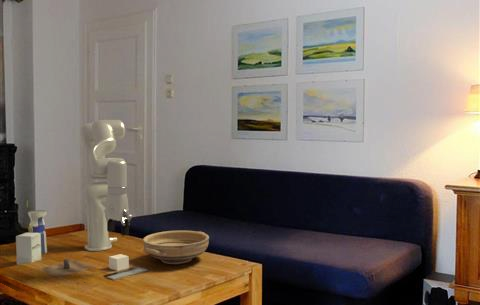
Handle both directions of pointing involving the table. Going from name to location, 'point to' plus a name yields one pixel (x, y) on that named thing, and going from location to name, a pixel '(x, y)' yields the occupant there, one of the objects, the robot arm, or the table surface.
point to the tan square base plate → (66, 268)
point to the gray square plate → (125, 273)
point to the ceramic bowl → (176, 245)
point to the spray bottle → (38, 226)
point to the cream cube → (119, 262)
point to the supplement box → (28, 247)
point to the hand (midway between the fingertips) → (118, 233)
